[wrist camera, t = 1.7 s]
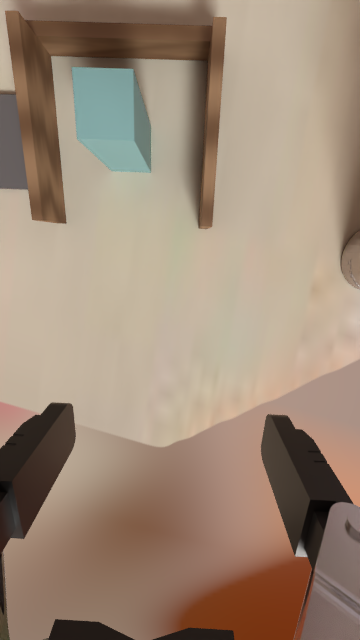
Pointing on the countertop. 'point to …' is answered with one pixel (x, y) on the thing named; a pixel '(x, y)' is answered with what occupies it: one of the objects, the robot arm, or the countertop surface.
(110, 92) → the teal block
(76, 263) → the countertop surface
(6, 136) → the pad
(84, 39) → the lane
